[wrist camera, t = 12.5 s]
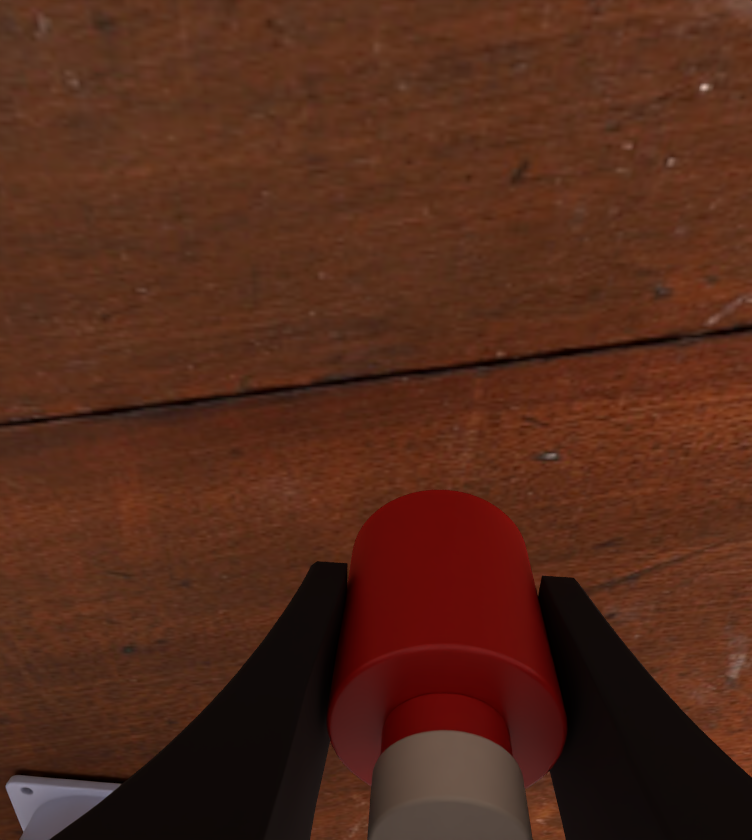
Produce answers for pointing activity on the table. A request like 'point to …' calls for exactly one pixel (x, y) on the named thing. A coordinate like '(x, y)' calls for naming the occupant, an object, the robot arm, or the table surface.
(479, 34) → the table surface
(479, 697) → the sauce bottle
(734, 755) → the table surface
